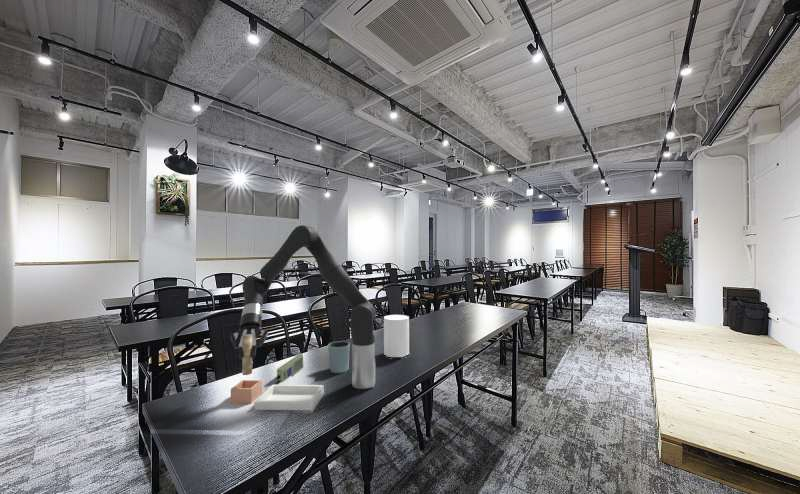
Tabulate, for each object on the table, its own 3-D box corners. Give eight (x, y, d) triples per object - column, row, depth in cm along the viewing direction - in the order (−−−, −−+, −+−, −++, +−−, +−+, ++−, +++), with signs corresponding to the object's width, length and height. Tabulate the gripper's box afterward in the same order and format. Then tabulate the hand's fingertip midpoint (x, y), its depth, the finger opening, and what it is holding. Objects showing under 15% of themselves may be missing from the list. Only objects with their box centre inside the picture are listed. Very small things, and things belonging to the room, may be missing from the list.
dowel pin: (253, 371, 113) (253, 334, 113) (249, 375, 110) (249, 336, 110) (245, 371, 113) (245, 334, 114) (240, 375, 110) (240, 336, 110)
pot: (261, 396, 115) (262, 380, 115) (251, 406, 107) (251, 389, 108) (242, 395, 115) (242, 380, 115) (230, 405, 108) (230, 388, 108)
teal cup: (343, 375, 135) (343, 348, 135) (323, 372, 138) (323, 345, 138) (353, 366, 144) (353, 341, 145) (335, 364, 148) (335, 339, 148)
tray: (323, 394, 116) (323, 385, 116) (312, 413, 102) (312, 402, 102) (272, 393, 117) (272, 384, 117) (254, 412, 103) (254, 402, 103)
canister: (382, 358, 156) (382, 319, 156) (385, 350, 169) (385, 314, 170) (409, 358, 155) (408, 319, 156) (409, 350, 169) (409, 314, 169)
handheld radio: (304, 367, 144) (275, 391, 119) (298, 367, 145) (268, 391, 120) (304, 353, 144) (275, 374, 120) (297, 353, 145) (267, 374, 120)
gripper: (230, 313, 117) (222, 354, 105) (270, 310, 121) (266, 350, 109) (233, 324, 122) (226, 364, 110) (271, 321, 126) (268, 360, 114)
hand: (246, 357), depth 110 cm, fingers closed on dowel pin, 3 cm apart
